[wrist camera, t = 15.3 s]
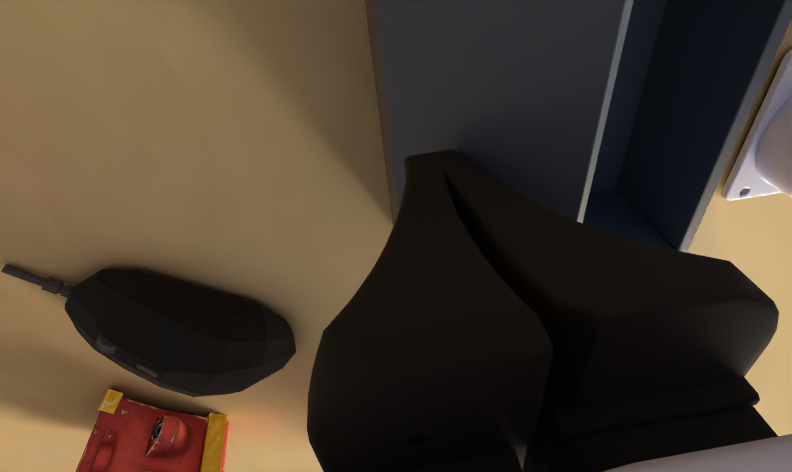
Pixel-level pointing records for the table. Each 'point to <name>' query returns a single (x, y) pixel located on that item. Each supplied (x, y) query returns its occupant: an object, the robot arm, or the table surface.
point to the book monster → (153, 439)
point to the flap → (504, 88)
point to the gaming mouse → (174, 330)
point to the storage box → (663, 112)
